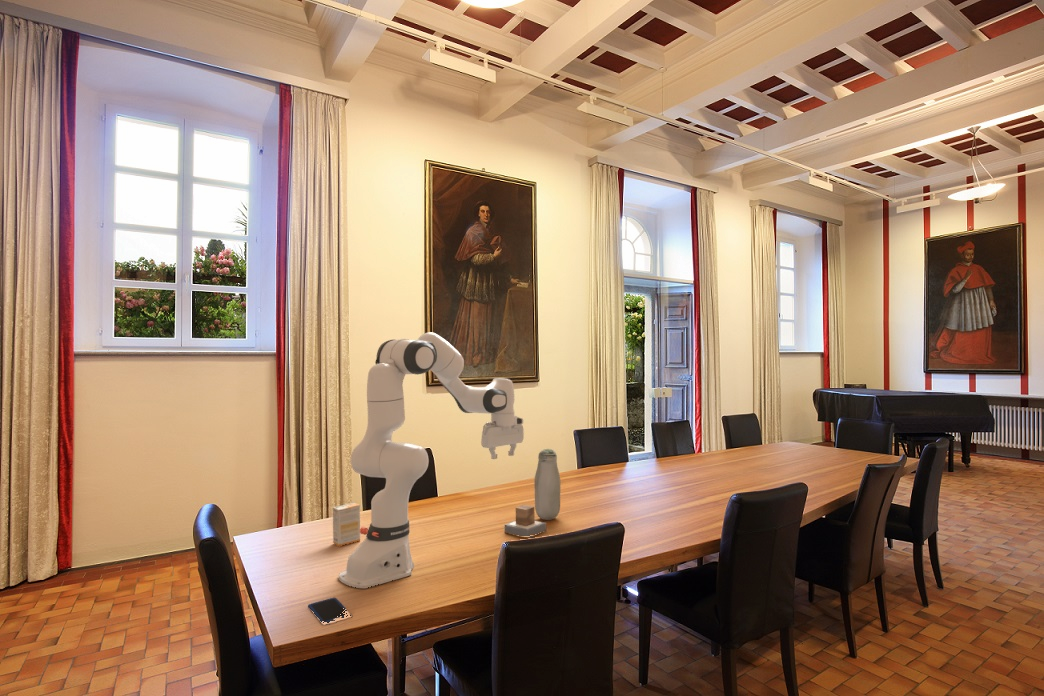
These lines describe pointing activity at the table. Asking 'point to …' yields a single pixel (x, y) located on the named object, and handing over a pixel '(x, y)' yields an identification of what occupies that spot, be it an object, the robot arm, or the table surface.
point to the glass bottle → (547, 485)
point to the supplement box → (346, 524)
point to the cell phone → (328, 609)
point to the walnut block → (525, 515)
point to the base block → (525, 528)
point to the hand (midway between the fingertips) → (502, 457)
